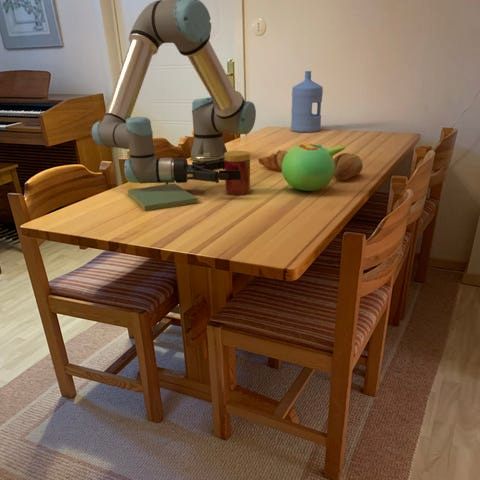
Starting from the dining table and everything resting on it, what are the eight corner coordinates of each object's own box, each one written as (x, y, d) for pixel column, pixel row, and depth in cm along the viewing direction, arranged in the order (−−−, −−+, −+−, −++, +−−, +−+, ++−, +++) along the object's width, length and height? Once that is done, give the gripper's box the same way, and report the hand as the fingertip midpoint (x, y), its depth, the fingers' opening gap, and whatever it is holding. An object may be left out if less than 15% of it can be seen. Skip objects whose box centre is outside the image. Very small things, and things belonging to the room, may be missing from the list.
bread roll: (324, 181, 165) (325, 156, 161) (340, 171, 176) (341, 148, 172) (351, 184, 161) (353, 159, 157) (365, 174, 172) (368, 151, 168)
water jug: (289, 132, 252) (291, 72, 238) (292, 128, 265) (293, 70, 251) (320, 132, 250) (323, 71, 236) (320, 128, 263) (324, 70, 249)
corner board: (128, 194, 156) (127, 189, 155) (175, 187, 162) (174, 183, 161) (145, 211, 140) (144, 205, 139) (197, 202, 146) (196, 198, 145)
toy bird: (272, 186, 161) (273, 139, 153) (316, 180, 166) (319, 134, 159) (299, 199, 146) (301, 149, 139) (346, 192, 152) (350, 143, 144)
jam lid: (220, 158, 152) (220, 152, 151) (242, 155, 155) (242, 149, 154) (230, 162, 146) (230, 156, 145) (253, 160, 149) (253, 153, 148)
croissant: (312, 179, 180) (317, 157, 180) (305, 171, 171) (310, 149, 171) (261, 173, 189) (265, 152, 188) (251, 165, 180) (255, 144, 179)
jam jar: (221, 190, 157) (219, 154, 152) (243, 187, 160) (242, 151, 155) (231, 196, 151) (230, 158, 145) (254, 193, 154) (254, 155, 148)
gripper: (181, 173, 166) (243, 172, 165) (168, 193, 144) (240, 192, 143) (179, 150, 162) (243, 149, 161) (166, 167, 140) (239, 166, 139)
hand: (241, 169), depth 152 cm, fingers open, 13 cm apart
